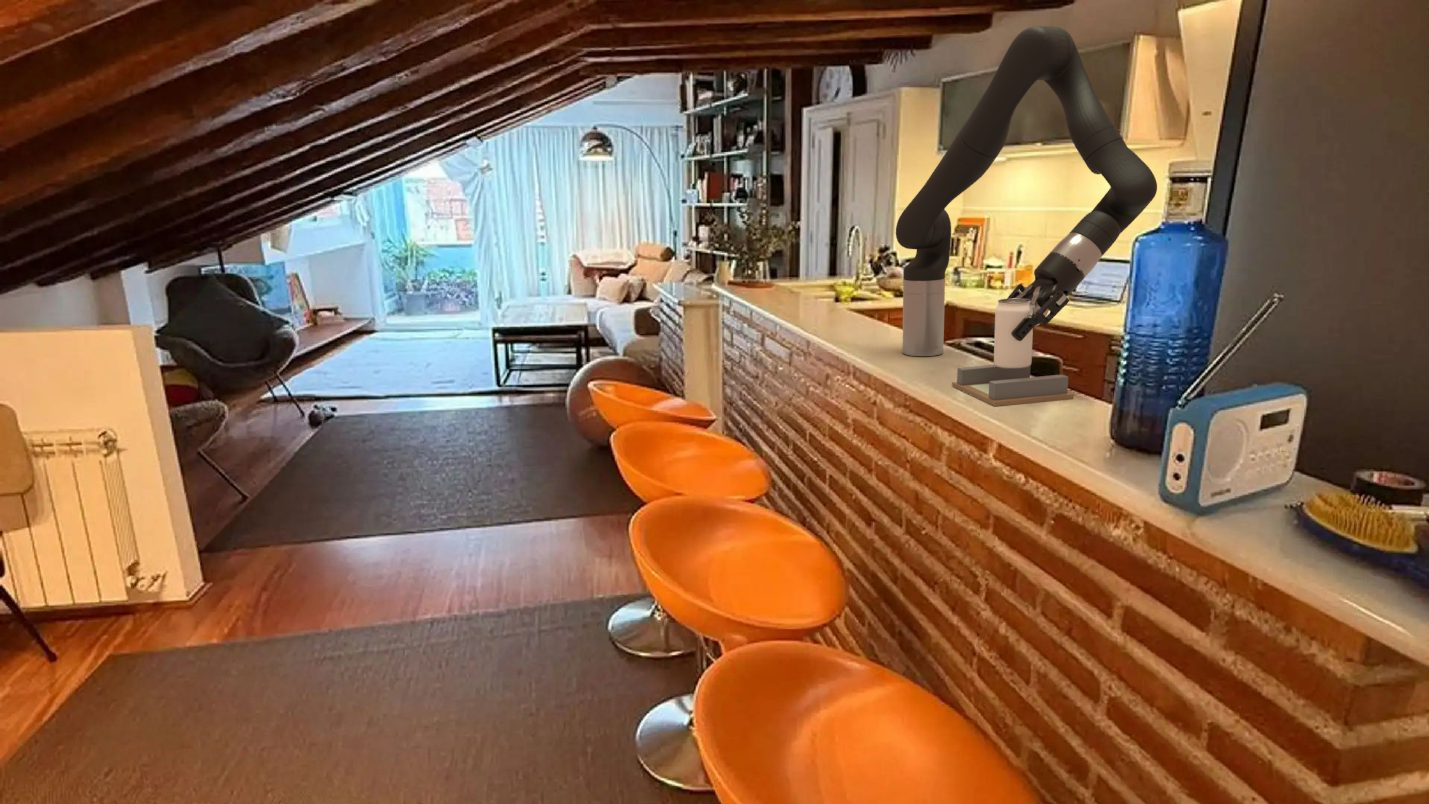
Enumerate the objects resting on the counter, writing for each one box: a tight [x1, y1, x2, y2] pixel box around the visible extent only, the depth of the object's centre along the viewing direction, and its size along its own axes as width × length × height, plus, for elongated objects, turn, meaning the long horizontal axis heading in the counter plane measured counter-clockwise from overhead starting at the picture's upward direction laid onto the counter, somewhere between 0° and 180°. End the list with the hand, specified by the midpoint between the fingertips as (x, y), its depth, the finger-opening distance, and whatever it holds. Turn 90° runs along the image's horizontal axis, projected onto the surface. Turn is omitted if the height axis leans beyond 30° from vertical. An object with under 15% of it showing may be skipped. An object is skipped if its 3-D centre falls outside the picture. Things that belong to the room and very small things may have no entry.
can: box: [993, 298, 1034, 369], centre depth 144 cm, size 6×6×12 cm
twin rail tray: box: [951, 364, 1074, 407], centre depth 146 cm, size 16×15×4 cm
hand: (1005, 334), depth 144 cm, fingers closed on can, 6 cm apart
